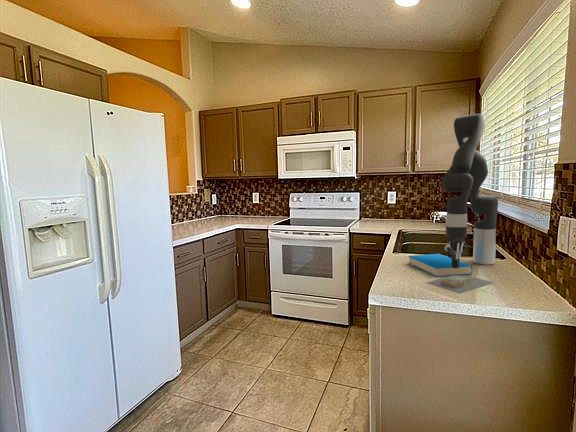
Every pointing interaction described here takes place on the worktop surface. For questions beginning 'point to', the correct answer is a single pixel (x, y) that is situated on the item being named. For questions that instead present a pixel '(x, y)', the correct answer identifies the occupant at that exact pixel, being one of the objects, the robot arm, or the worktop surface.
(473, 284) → the mat
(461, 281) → the tile
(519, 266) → the worktop surface
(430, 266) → the book
